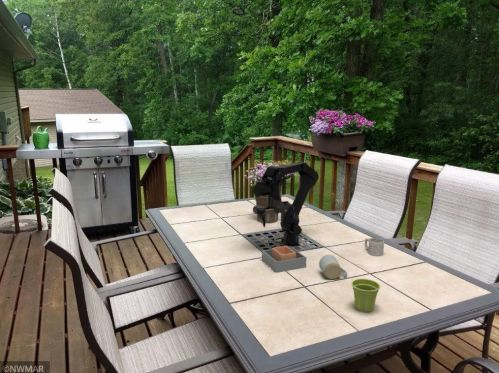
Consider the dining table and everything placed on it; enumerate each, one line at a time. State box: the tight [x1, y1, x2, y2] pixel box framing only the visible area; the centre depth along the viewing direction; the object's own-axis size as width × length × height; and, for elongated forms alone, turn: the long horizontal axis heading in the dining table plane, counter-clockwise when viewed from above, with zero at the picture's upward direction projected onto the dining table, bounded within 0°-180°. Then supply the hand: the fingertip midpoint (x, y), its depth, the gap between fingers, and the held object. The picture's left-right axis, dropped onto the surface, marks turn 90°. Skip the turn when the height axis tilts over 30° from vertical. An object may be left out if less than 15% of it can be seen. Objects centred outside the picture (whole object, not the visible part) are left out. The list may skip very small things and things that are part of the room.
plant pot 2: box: [351, 278, 381, 313], centre depth 134 cm, size 9×9×9 cm
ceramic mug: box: [318, 254, 348, 280], centre depth 160 cm, size 11×8×8 cm
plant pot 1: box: [254, 192, 283, 224], centre depth 233 cm, size 16×16×16 cm
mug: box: [364, 237, 385, 257], centre depth 184 cm, size 10×7×7 cm, turn 31°
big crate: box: [261, 246, 307, 274], centre depth 172 cm, size 14×14×5 cm
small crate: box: [271, 245, 296, 262], centre depth 172 cm, size 7×9×6 cm
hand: (273, 226), depth 185 cm, fingers open, 9 cm apart
